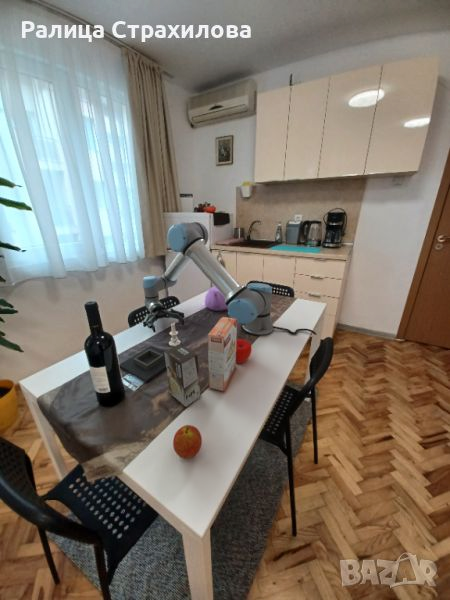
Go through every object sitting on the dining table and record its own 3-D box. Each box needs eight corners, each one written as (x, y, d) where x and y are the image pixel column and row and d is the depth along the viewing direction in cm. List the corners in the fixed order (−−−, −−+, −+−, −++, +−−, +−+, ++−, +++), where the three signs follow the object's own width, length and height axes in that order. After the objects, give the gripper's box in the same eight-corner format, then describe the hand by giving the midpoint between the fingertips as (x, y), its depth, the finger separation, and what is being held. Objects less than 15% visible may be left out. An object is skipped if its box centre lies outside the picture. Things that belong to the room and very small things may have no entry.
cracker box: (225, 392, 79) (224, 337, 71) (208, 388, 80) (206, 334, 73) (236, 367, 91) (237, 318, 83) (222, 364, 93) (221, 315, 85)
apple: (247, 369, 90) (248, 351, 87) (225, 364, 93) (225, 347, 90) (253, 356, 98) (254, 339, 95) (233, 352, 100) (233, 335, 97)
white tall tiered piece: (171, 347, 104) (169, 326, 100) (166, 342, 108) (164, 322, 104) (182, 343, 106) (180, 323, 103) (177, 339, 110) (175, 318, 107)
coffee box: (201, 396, 77) (199, 354, 71) (185, 407, 73) (181, 364, 67) (183, 383, 83) (180, 343, 77) (168, 392, 79) (163, 351, 73)
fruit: (178, 470, 56) (175, 446, 53) (171, 445, 61) (168, 422, 58) (206, 457, 58) (205, 434, 55) (197, 434, 64) (195, 412, 61)
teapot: (208, 298, 158) (207, 278, 153) (235, 299, 156) (235, 279, 151) (200, 314, 135) (198, 291, 130) (231, 316, 133) (231, 293, 128)
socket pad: (178, 359, 96) (178, 353, 95) (146, 382, 83) (145, 375, 82) (151, 347, 104) (150, 341, 103) (119, 367, 91) (117, 360, 90)
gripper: (180, 311, 134) (194, 326, 117) (133, 321, 123) (142, 340, 105) (179, 299, 131) (193, 313, 114) (131, 308, 120) (140, 325, 103)
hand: (169, 326), depth 110 cm, fingers open, 13 cm apart
